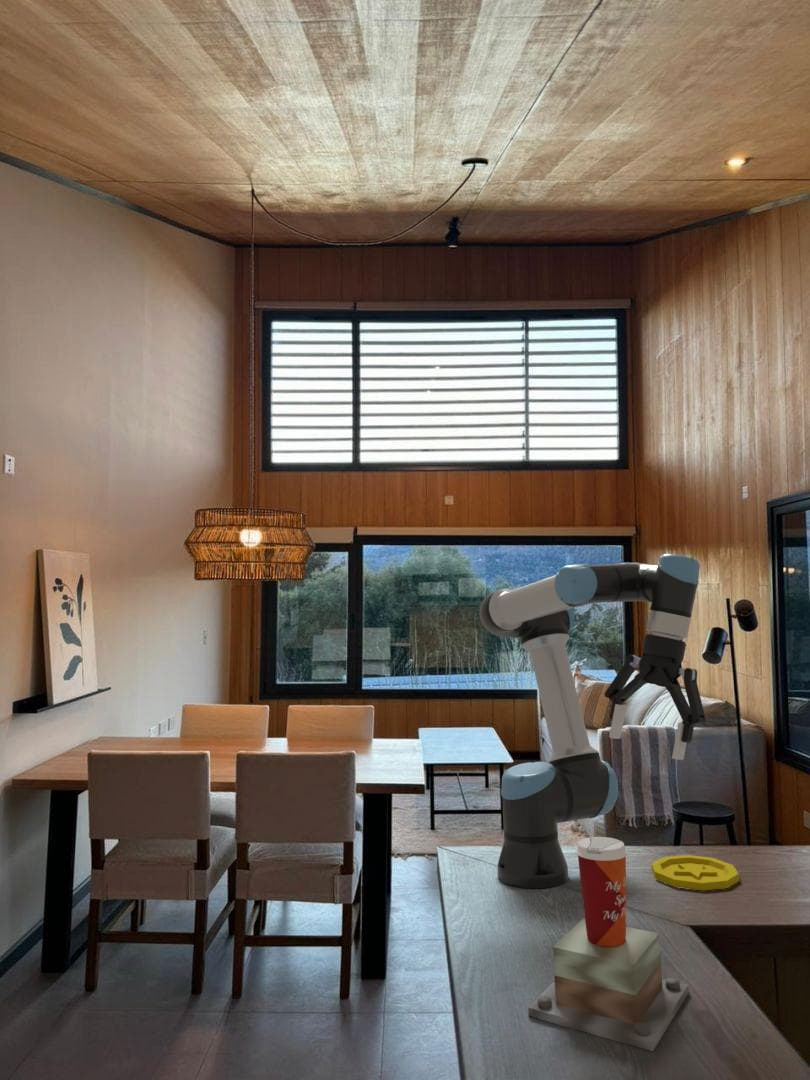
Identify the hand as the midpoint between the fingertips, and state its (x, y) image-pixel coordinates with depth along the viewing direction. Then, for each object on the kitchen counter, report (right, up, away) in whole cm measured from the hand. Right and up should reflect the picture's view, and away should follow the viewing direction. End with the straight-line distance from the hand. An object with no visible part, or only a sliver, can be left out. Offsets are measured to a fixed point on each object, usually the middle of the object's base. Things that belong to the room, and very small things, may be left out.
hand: (645, 748), depth 149 cm
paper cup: (-15, -21, -30) cm, 39 cm away
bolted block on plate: (-15, -30, -31) cm, 45 cm away
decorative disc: (+17, -33, +20) cm, 42 cm away
